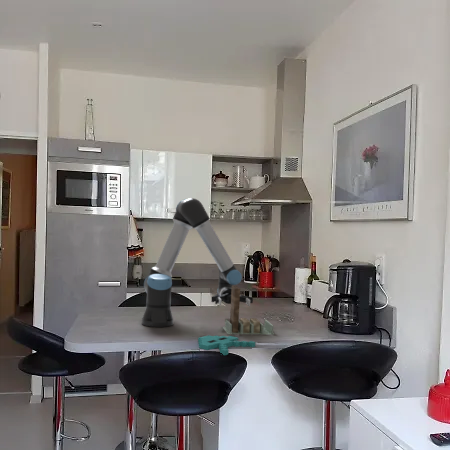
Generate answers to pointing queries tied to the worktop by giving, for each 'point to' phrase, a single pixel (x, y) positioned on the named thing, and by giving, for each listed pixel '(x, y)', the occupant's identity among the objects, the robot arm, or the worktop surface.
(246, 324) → the pine offcut
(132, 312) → the worktop surface
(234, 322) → the walnut panel
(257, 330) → the pine offcut
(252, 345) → the alien figure
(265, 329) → the slot rack
